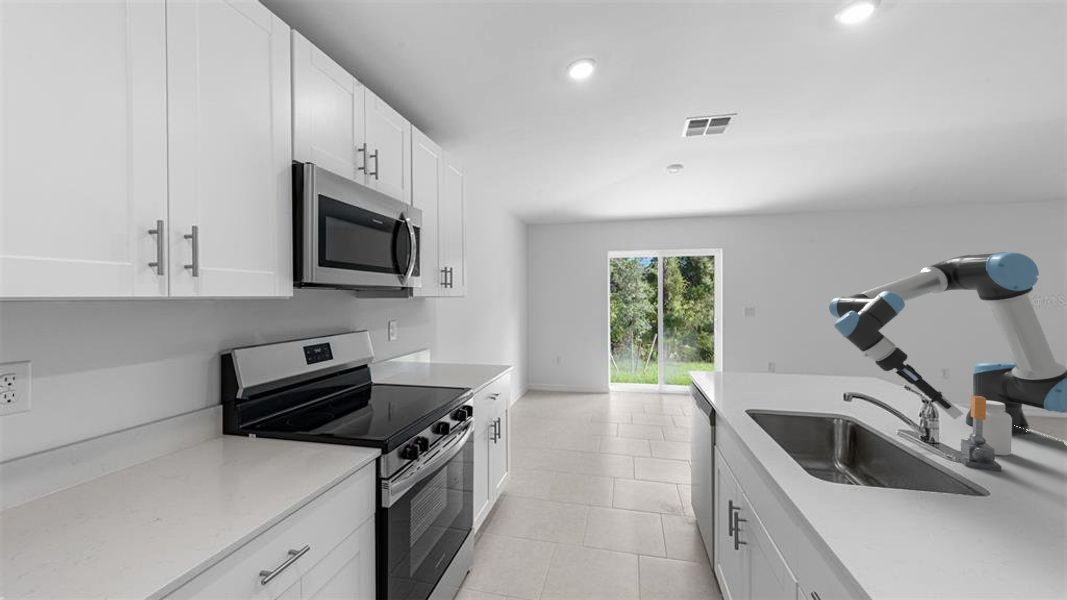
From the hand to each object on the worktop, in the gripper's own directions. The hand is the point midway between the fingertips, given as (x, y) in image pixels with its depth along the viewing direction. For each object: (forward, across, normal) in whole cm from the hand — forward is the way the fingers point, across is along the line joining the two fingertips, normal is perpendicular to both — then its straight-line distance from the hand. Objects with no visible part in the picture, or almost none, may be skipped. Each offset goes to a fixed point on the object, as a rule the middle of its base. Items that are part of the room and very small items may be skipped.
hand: (958, 415), depth 121 cm
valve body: (+12, 0, -6) cm, 14 cm away
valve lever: (+8, 0, -2) cm, 8 cm away
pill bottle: (+18, -14, -1) cm, 23 cm away
